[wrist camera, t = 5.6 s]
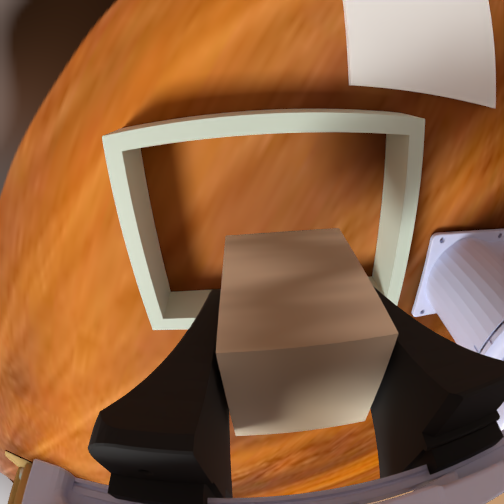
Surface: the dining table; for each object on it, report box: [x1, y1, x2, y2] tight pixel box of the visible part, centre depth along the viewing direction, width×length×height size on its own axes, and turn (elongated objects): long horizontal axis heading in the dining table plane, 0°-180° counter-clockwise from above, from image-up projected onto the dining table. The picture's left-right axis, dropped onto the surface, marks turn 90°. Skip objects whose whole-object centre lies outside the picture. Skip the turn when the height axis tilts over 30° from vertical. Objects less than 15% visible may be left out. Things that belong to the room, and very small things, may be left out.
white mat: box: [343, 0, 496, 109], centre depth 13 cm, size 12×10×1 cm
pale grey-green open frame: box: [102, 109, 425, 330], centre depth 18 cm, size 17×13×3 cm
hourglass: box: [5, 451, 33, 504], centre depth 45 cm, size 24×22×25 cm
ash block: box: [216, 228, 399, 436], centre depth 11 cm, size 4×4×6 cm
